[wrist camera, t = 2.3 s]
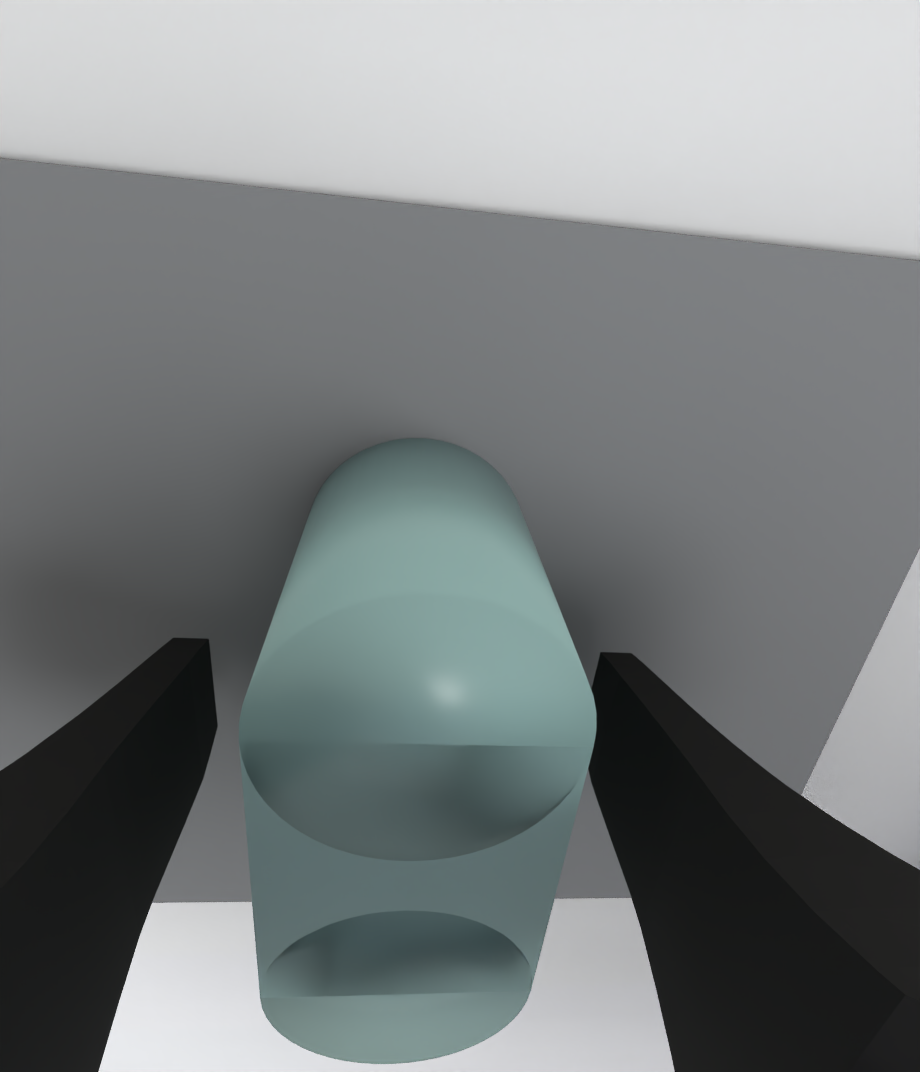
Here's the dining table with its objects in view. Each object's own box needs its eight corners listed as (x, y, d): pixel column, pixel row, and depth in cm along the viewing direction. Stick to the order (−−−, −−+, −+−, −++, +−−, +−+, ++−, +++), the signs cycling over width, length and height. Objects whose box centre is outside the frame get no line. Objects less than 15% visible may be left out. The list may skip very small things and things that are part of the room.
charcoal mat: (1023, 273, 10) (1050, 275, 10) (743, 879, 18) (752, 896, 17) (-294, 126, 8) (-334, 121, 8) (-11, 885, 15) (-23, 904, 15)
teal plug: (305, 429, 10) (225, 584, 6) (539, 446, 11) (631, 602, 6) (312, 872, 15) (272, 1138, 11) (470, 872, 16) (495, 1126, 11)
